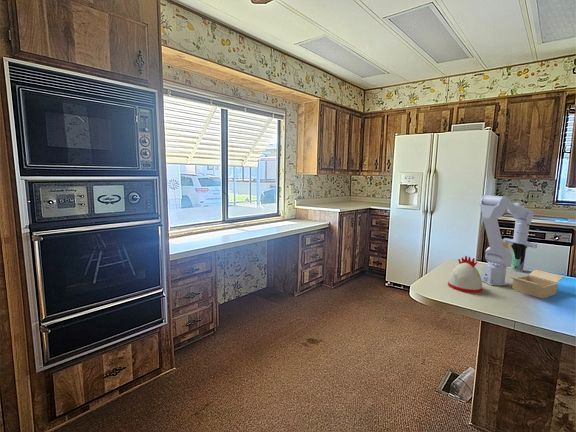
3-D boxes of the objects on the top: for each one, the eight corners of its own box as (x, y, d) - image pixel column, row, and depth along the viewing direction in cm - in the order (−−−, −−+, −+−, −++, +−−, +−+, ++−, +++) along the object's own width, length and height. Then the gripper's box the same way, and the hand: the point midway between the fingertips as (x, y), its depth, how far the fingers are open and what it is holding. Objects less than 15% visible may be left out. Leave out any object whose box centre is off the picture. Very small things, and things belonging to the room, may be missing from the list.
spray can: (524, 272, 172) (529, 236, 169) (513, 271, 173) (518, 235, 171) (519, 269, 178) (524, 234, 175) (509, 268, 179) (513, 233, 176)
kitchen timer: (473, 295, 138) (476, 262, 136) (442, 285, 149) (445, 254, 147) (487, 289, 146) (490, 257, 144) (456, 280, 157) (459, 250, 155)
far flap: (528, 274, 151) (528, 275, 151) (556, 282, 141) (557, 283, 141) (535, 269, 153) (535, 269, 153) (563, 276, 143) (563, 277, 143)
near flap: (542, 286, 135) (542, 287, 135) (514, 278, 145) (513, 279, 145) (536, 283, 133) (536, 284, 133) (508, 275, 143) (508, 276, 143)
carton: (541, 298, 136) (543, 287, 135) (511, 288, 146) (513, 278, 146) (556, 294, 141) (557, 283, 141) (526, 285, 152) (527, 275, 151)
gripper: (542, 234, 153) (538, 261, 155) (510, 229, 166) (506, 254, 168) (534, 235, 150) (530, 263, 152) (502, 230, 163) (499, 255, 165)
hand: (517, 258), depth 160 cm, fingers closed
